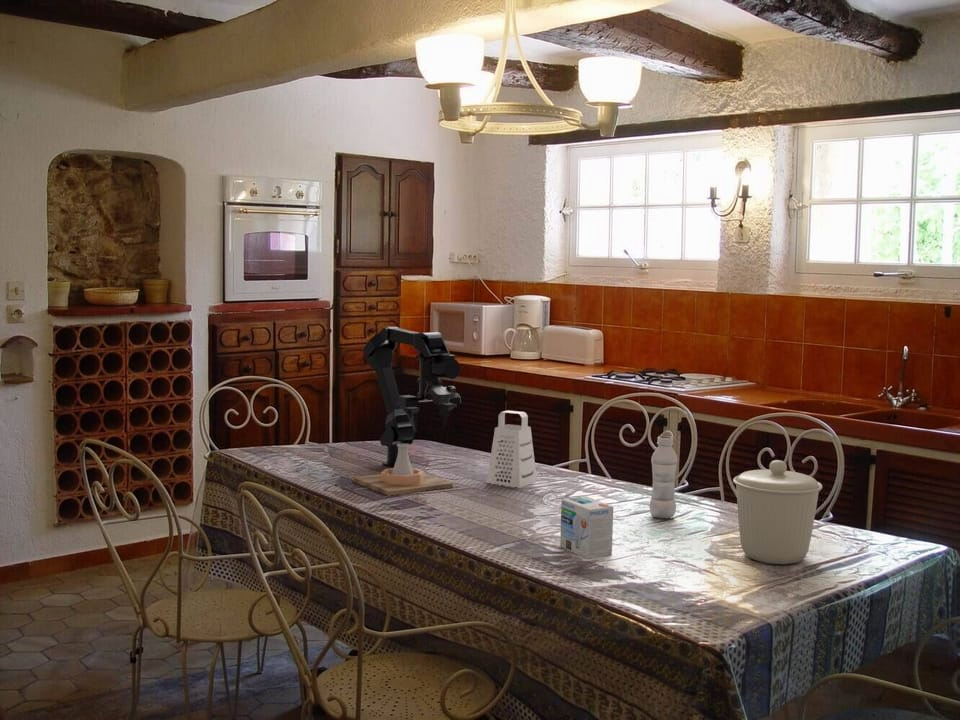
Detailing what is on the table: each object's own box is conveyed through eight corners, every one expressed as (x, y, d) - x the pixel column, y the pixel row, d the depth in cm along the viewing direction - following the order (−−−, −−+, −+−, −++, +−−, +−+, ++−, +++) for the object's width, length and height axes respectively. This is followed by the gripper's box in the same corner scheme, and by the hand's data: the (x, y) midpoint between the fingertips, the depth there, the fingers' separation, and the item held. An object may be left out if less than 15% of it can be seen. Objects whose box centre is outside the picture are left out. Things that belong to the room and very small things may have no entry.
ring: (375, 478, 280) (375, 470, 280) (409, 474, 287) (409, 466, 286) (395, 486, 271) (395, 477, 271) (430, 481, 278) (430, 473, 277)
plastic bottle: (646, 519, 245) (649, 438, 243) (651, 513, 252) (654, 434, 250) (673, 522, 243) (676, 440, 241) (677, 516, 249) (680, 436, 248)
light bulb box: (558, 546, 221) (560, 498, 220) (584, 543, 224) (585, 495, 223) (587, 559, 211) (588, 509, 210) (613, 555, 215) (614, 506, 214)
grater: (519, 488, 277) (521, 416, 275) (486, 483, 283) (487, 412, 281) (536, 481, 286) (538, 411, 284) (504, 476, 292) (505, 408, 290)
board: (353, 481, 282) (353, 477, 281) (414, 474, 293) (414, 470, 293) (388, 496, 265) (388, 491, 265) (452, 487, 277) (452, 483, 277)
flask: (415, 483, 275) (415, 447, 274) (388, 482, 275) (388, 446, 274) (416, 477, 283) (416, 442, 282) (390, 477, 283) (390, 442, 282)
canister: (836, 567, 209) (841, 467, 207) (759, 573, 204) (764, 470, 202) (786, 543, 226) (790, 450, 224) (714, 549, 221) (718, 454, 219)
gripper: (416, 380, 280) (415, 436, 281) (471, 377, 290) (471, 430, 292) (396, 376, 289) (395, 430, 290) (450, 373, 299) (449, 425, 301)
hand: (428, 429), depth 293 cm, fingers open, 9 cm apart
